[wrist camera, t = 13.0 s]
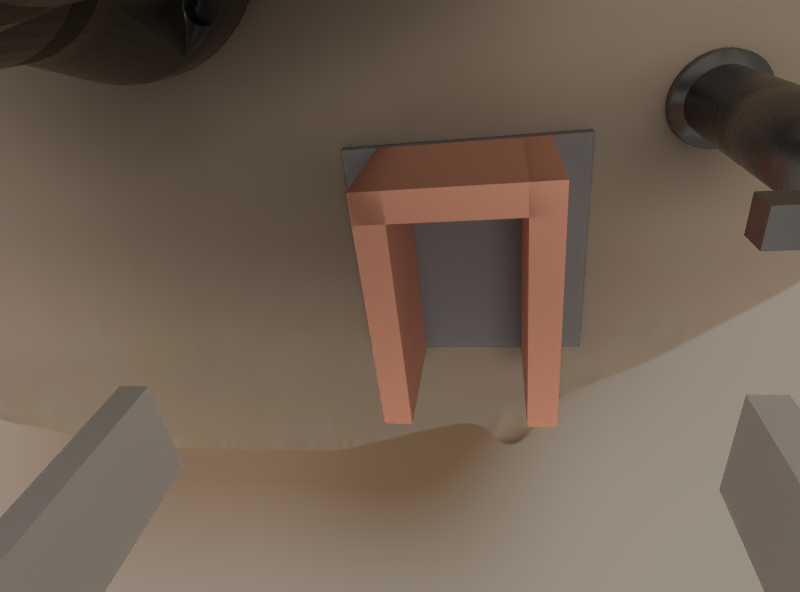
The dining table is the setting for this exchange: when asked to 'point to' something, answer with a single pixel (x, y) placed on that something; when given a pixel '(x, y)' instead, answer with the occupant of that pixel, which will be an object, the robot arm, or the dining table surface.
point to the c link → (460, 201)
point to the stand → (746, 133)
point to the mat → (492, 259)
